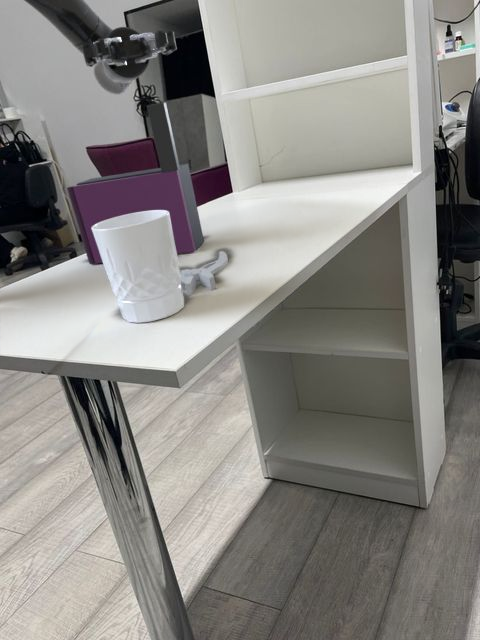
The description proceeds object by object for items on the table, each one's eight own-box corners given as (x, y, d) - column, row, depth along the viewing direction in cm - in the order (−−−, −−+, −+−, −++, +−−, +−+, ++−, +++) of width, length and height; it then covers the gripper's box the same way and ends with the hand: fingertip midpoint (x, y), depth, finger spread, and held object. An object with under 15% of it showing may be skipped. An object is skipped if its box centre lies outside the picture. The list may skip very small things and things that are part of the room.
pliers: (222, 244, 76) (241, 271, 62) (225, 255, 76) (243, 284, 63) (153, 259, 74) (156, 289, 61) (155, 270, 75) (159, 303, 62)
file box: (99, 262, 85) (76, 183, 80) (111, 253, 89) (90, 178, 84) (196, 250, 81) (178, 167, 76) (204, 241, 86) (188, 163, 81)
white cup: (202, 307, 57) (181, 212, 53) (132, 332, 54) (104, 232, 50) (173, 293, 63) (152, 207, 59) (108, 314, 60) (82, 225, 56)
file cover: (88, 264, 83) (45, 123, 75) (91, 262, 84) (49, 123, 76) (195, 251, 80) (163, 102, 72) (197, 249, 81) (166, 102, 73)
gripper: (76, 37, 90) (75, 19, 75) (160, 25, 93) (174, 5, 78) (89, 86, 93) (91, 78, 79) (170, 73, 96) (186, 63, 82)
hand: (132, 42), depth 79 cm, fingers open, 8 cm apart
